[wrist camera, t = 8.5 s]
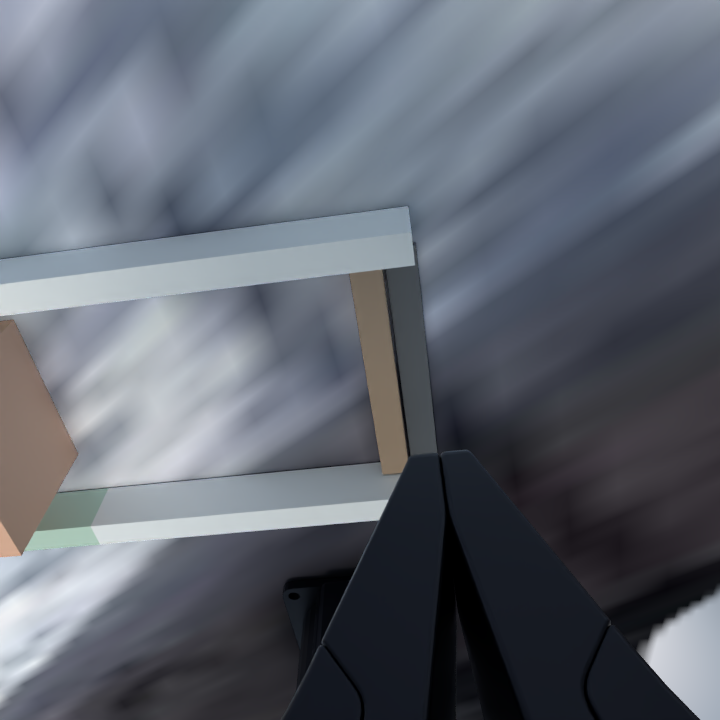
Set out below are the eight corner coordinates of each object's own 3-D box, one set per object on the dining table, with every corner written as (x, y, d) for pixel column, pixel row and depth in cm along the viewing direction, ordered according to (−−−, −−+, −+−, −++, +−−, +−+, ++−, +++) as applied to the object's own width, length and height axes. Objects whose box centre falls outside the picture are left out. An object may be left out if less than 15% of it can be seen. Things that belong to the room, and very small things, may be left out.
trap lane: (439, 476, 26) (444, 514, 24) (-122, 528, 28) (-154, 566, 26) (411, 205, 20) (415, 231, 18) (-301, 298, 22) (-356, 329, 20)
